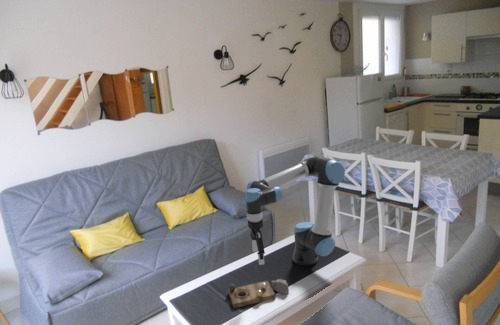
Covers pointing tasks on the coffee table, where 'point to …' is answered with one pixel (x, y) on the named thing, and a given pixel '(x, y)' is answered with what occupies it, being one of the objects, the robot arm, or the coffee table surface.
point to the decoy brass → (259, 293)
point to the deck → (250, 294)
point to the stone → (280, 286)
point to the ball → (263, 286)
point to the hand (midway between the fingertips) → (258, 257)
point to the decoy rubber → (232, 287)
